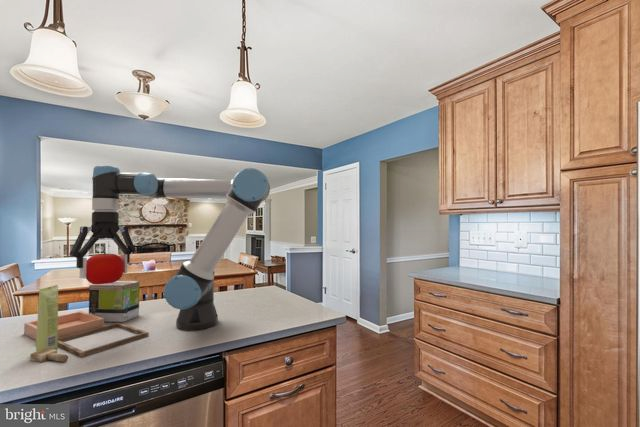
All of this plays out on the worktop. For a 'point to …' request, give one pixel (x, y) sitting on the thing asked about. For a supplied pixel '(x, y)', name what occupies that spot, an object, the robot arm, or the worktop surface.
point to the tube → (47, 319)
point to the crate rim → (103, 347)
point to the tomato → (104, 268)
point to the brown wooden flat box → (68, 324)
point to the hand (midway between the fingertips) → (104, 275)
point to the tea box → (114, 300)
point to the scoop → (48, 355)
